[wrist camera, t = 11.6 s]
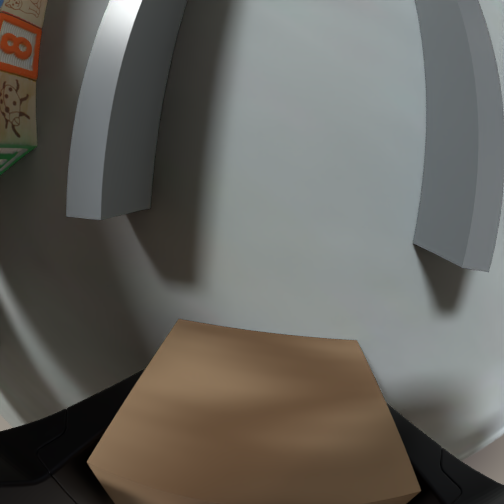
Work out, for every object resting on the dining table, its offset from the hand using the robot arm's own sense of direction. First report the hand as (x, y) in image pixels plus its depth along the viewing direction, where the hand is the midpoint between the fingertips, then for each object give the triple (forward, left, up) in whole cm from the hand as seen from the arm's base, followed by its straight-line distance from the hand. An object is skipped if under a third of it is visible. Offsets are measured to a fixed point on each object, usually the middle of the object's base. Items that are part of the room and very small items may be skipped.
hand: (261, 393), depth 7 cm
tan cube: (0, +1, -1) cm, 2 cm away
